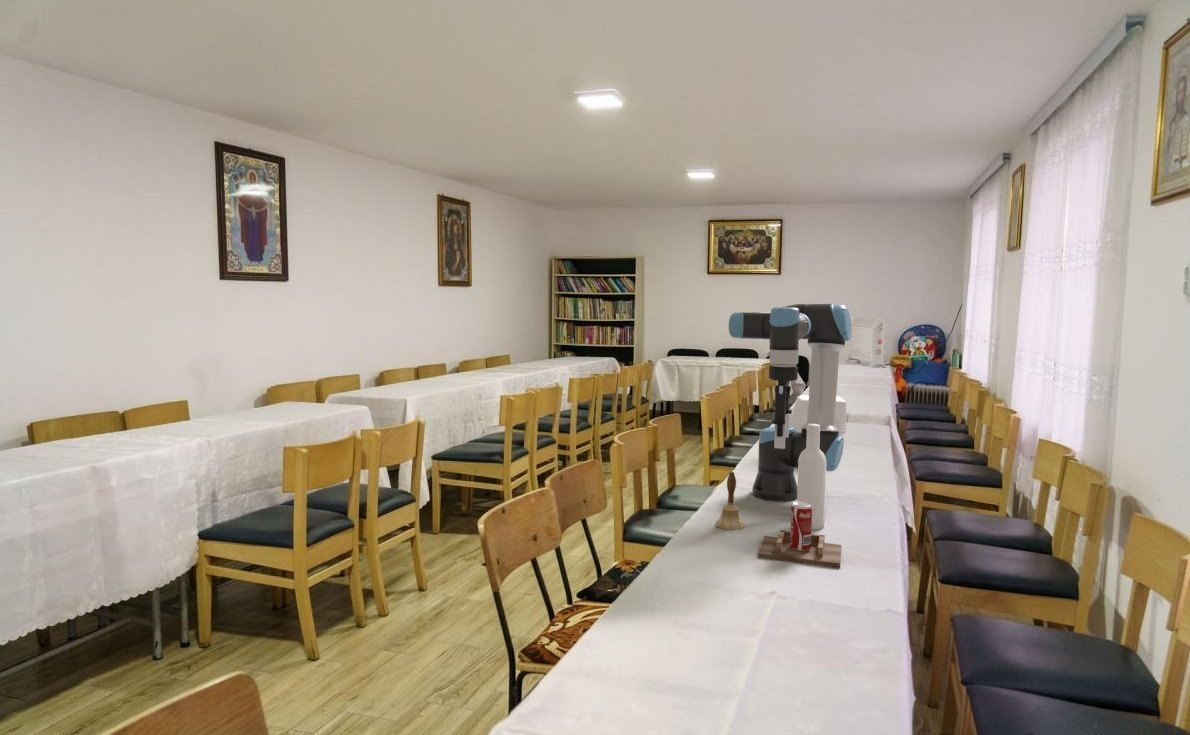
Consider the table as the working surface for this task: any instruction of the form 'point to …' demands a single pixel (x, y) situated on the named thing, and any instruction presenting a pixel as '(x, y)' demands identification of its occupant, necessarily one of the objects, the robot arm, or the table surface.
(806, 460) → the bottle
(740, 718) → the table surface
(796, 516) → the soda can
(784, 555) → the can rest
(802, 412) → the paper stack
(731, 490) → the hand bell
